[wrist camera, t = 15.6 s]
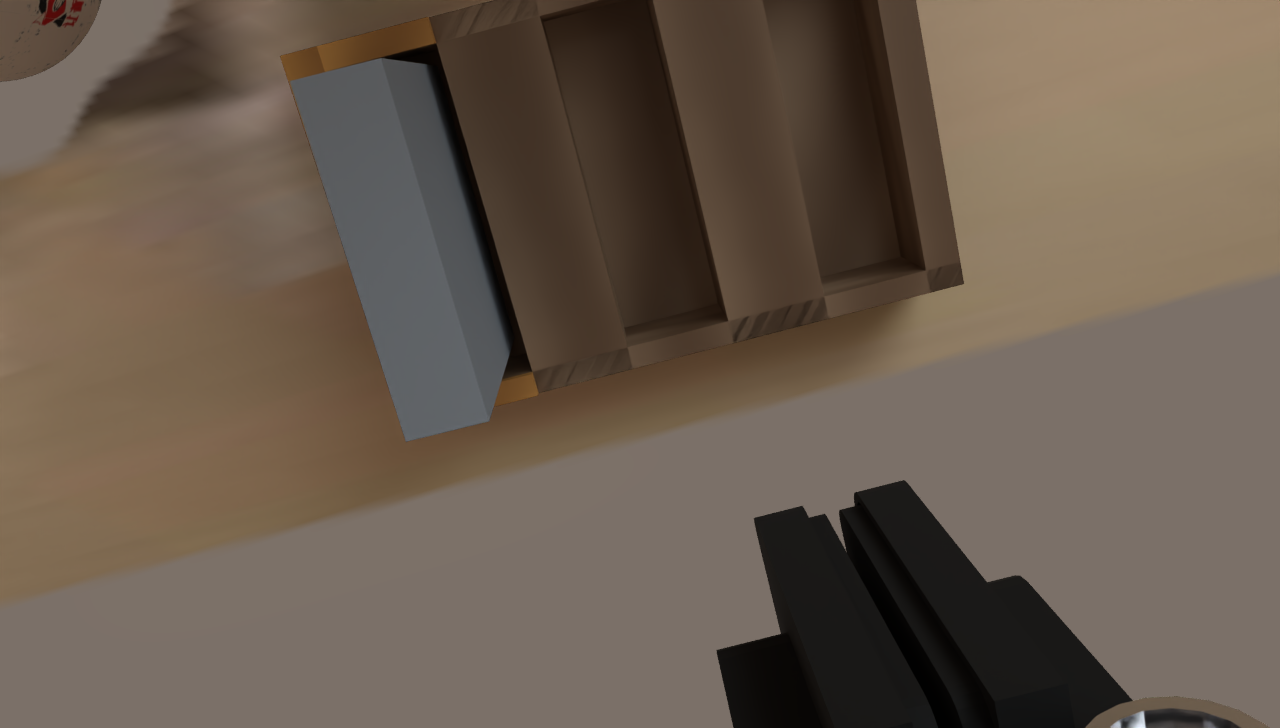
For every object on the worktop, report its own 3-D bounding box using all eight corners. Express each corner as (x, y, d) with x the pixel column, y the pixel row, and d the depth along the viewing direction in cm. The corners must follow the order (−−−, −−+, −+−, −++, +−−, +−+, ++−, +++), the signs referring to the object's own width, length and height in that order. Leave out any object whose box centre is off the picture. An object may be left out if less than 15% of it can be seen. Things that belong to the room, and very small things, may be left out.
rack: (425, 390, 40) (404, 430, 36) (318, 60, 37) (279, 56, 32) (923, 262, 40) (967, 285, 35) (861, -84, 37) (900, -109, 32)
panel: (452, 353, 38) (406, 441, 29) (370, 82, 36) (289, 80, 26) (514, 337, 38) (489, 421, 29) (437, 65, 36) (380, 57, 26)
